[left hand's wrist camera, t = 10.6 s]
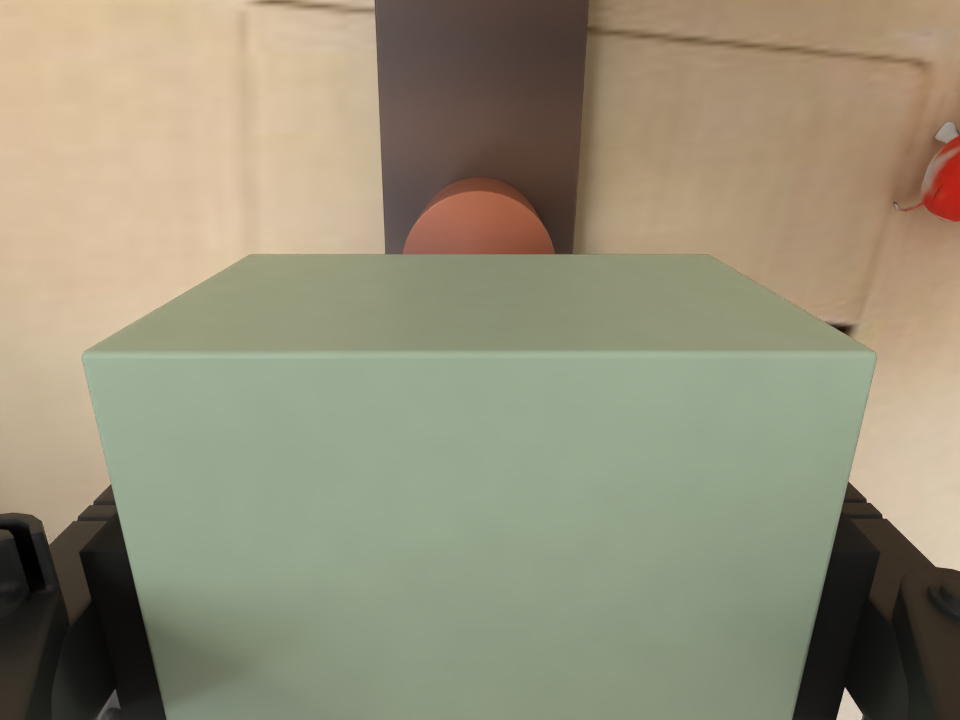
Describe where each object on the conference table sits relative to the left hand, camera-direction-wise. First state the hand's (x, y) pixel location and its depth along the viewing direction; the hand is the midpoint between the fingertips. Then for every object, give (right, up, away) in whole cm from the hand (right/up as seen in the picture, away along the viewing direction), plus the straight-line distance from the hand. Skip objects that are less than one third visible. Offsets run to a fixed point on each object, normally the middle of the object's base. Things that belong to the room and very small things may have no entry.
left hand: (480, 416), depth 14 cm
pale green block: (0, -1, -2) cm, 2 cm away
